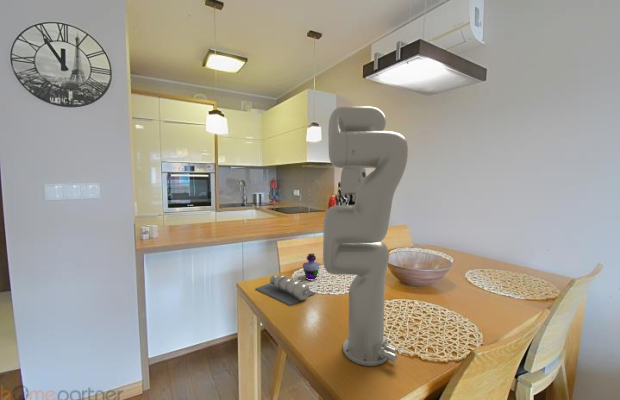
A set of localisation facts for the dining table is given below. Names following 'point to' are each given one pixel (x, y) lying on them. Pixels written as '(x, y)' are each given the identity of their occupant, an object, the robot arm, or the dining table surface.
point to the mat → (279, 294)
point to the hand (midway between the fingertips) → (352, 211)
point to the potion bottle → (311, 267)
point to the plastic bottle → (290, 287)
